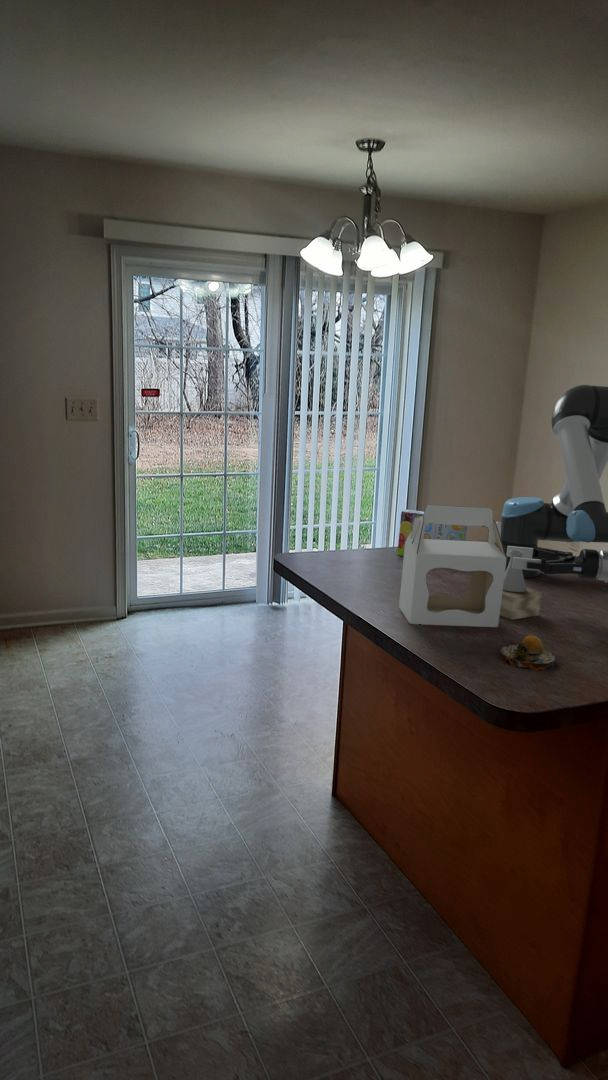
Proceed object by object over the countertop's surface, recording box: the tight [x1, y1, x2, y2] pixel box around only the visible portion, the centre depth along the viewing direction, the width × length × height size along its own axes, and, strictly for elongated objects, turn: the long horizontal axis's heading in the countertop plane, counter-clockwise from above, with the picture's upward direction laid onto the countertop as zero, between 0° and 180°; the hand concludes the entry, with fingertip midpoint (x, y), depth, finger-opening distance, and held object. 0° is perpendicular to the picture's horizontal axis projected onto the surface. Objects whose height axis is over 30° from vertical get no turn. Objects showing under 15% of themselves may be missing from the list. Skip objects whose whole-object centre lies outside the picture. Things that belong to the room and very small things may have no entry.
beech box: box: [499, 587, 544, 620], centre depth 200 cm, size 10×10×6 cm
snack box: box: [396, 509, 468, 557], centre depth 252 cm, size 21×6×15 cm, turn 65°
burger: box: [498, 632, 557, 671], centre depth 165 cm, size 12×12×8 cm
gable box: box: [398, 504, 507, 628], centre depth 189 cm, size 22×13×28 cm, turn 95°
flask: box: [503, 550, 526, 592], centre depth 198 cm, size 7×7×10 cm
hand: (509, 556), depth 198 cm, fingers open, 13 cm apart
